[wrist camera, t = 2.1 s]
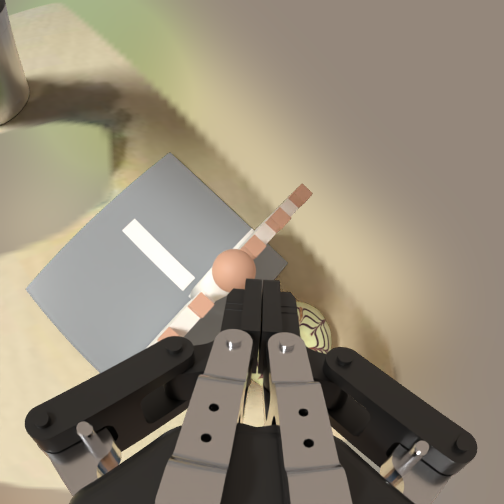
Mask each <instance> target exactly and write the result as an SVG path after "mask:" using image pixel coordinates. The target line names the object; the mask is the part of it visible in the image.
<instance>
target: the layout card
mask: <svg viewBox="0 0 504 504" xmlns="http://www.w3.org/2000/svg"><path fill="white" fill-rule="evenodd" d="M253 232H254V230H253V229H252V228H251V227H250V226H249V225H248V224H247V223H245V222H244V221H243V220H242V219H241V218H240V217H239V216H238V215H237V214H236V213H235V212H234V211H233V210H232V209H231V208H230V207H228V206H227V205H226V204H225V203H224V202H223V201H222V200H221V199H220V198H219V197H218V196H217V195H216V194H215V193H213V192H212V191H211V190H210V189H209V188H208V187H207V186H206V185H205V184H204V183H203V182H202V181H201V180H200V179H198V178H197V177H196V176H195V175H194V174H193V173H192V172H191V171H190V170H189V169H188V168H187V167H185V166H184V165H183V164H182V163H181V162H180V161H179V160H178V159H177V158H176V157H175V156H174V155H172V154H171V153H170V152H169V153H168V154H167V155H165V156H164V157H163V158H162V159H160V160H159V161H158V162H157V163H155V164H154V165H153V166H152V167H150V168H149V169H148V170H147V171H146V172H144V173H143V174H142V175H141V176H140V177H138V178H137V179H136V180H135V181H134V182H132V183H131V184H130V185H129V186H128V187H127V188H126V189H124V190H123V191H122V192H121V193H120V194H119V195H118V196H116V197H115V198H114V199H113V200H112V201H111V202H110V203H109V204H108V205H106V206H105V207H104V208H103V209H102V210H101V211H100V212H99V213H98V214H97V215H96V216H95V217H94V218H92V219H91V220H90V221H89V222H88V223H87V224H86V225H85V226H84V227H83V228H82V229H81V230H80V231H79V232H78V233H77V234H76V235H75V236H74V237H73V238H72V239H71V240H70V241H69V242H68V243H67V244H66V245H65V246H64V247H63V248H62V249H61V250H60V251H59V252H58V253H57V254H56V256H55V257H54V258H53V259H52V260H51V261H50V262H49V263H48V264H47V265H46V266H45V267H44V268H43V270H42V271H41V272H40V273H39V274H38V275H37V276H36V277H35V279H34V280H33V281H32V282H31V283H30V284H29V285H28V287H27V288H26V290H27V292H28V293H29V294H30V296H31V297H32V298H33V300H34V301H35V302H36V303H37V305H38V306H39V307H40V308H41V310H42V311H43V312H44V313H45V314H46V316H47V317H48V318H49V319H50V320H51V321H52V323H53V324H54V325H55V326H56V327H57V328H58V330H59V331H60V332H61V333H62V334H63V335H64V336H65V337H66V339H67V340H68V341H69V342H70V343H71V344H72V345H73V346H74V347H75V348H76V349H77V350H78V351H79V352H80V353H81V354H82V356H83V357H84V358H85V359H86V360H87V361H88V362H89V363H90V364H91V365H92V366H93V367H94V368H95V369H96V370H97V371H99V372H100V373H102V372H104V371H106V370H107V369H109V368H111V367H113V366H115V365H117V364H119V363H120V362H122V361H124V360H126V359H128V358H130V357H131V356H133V355H135V354H137V353H139V352H141V351H142V350H144V349H146V348H147V346H148V345H149V344H150V343H151V342H152V341H153V340H154V339H155V338H156V337H157V335H158V334H159V333H160V332H161V331H162V330H163V329H164V328H165V327H166V326H167V324H168V323H169V322H170V321H171V320H172V319H173V318H174V317H175V316H176V315H177V314H178V312H179V311H180V310H181V309H182V308H183V307H184V306H185V305H186V304H187V303H188V302H189V301H190V300H191V297H190V293H191V291H192V289H193V288H194V287H195V286H196V285H197V283H198V282H199V281H200V280H201V279H202V278H203V277H204V276H205V274H206V273H207V272H208V271H209V270H210V269H211V268H212V266H213V263H214V261H215V259H216V258H217V256H218V255H219V254H221V253H222V252H224V251H226V250H229V249H238V248H239V247H240V245H241V244H242V243H243V242H244V241H245V240H246V239H247V238H248V237H249V236H250V235H251V234H252V233H253ZM253 261H254V263H255V266H256V276H255V279H262V287H263V279H264V280H274V279H275V278H276V277H277V276H278V275H279V273H280V272H281V271H282V270H283V268H284V267H285V266H286V265H287V264H288V262H286V261H285V260H284V259H283V258H282V257H281V256H280V255H279V254H278V253H277V252H276V251H275V250H274V249H273V248H272V247H271V246H270V245H269V244H268V243H267V244H266V247H265V249H264V250H263V251H262V252H261V253H260V254H259V255H258V256H257V258H255V259H254V260H253ZM226 299H227V296H225V297H223V298H221V299H219V300H217V301H215V303H214V304H215V305H214V306H213V307H212V308H211V309H210V310H209V311H208V313H207V314H206V315H205V316H204V317H203V318H200V319H199V320H198V322H197V323H196V324H195V325H194V326H193V327H192V328H191V329H190V330H189V332H188V333H187V334H186V335H185V336H184V338H187V339H188V340H190V341H191V342H192V344H193V346H194V345H202V344H207V343H209V342H212V341H213V340H215V337H216V336H217V334H219V333H220V331H221V326H222V320H223V315H224V310H225V304H226Z"/></svg>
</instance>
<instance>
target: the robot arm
mask: <svg viewBox="0 0 504 504" xmlns="http://www.w3.org/2000/svg"><path fill="white" fill-rule="evenodd" d="M29 94H30V89H29V86H28V83H27V80H26V77H25V74H24V70H23V67H22V64H21V61H20V58H19V54H18V51H17V47H16V44H15V40H14V37H13V33H12V29H11V25H10V21H9V17H8V13H7V8H6V3H5V0H0V125H1V124H4V123H5V122H7V121H9V120H10V119H12V118H13V117H14V116H16V115H17V114H18V113H19V112H20V111H21V109H22V108H23V107H24V105H25V104H26V102H27V100H28V98H29ZM261 297H262V298H261ZM258 350H259V354H258ZM257 360H258V374H263V385H262V398H263V412H264V426H263V427H253V426H250V425H246V424H243V420H244V414H245V408H246V402H247V396H248V390H249V385H250V383H251V376H252V373H253V374H256V370H257ZM350 396H351V397H350ZM355 400H356V401H355ZM360 404H361V405H360ZM187 408H188V409H187ZM365 408H366V409H365ZM186 409H187V412H186V416H185V419H184V422H183V425H182V426H179V427H176V428H174V429H171V430H169V431H167V432H166V433H164V434H162V435H161V436H160V437H158V438H157V439H156V440H154V441H153V442H151V443H150V444H149V445H147V446H146V447H144V448H143V449H141V450H140V451H139V452H137V453H136V454H134V455H133V456H131V457H130V458H128V459H127V460H125V461H124V462H122V463H121V464H119V463H120V461H121V452H122V451H124V450H125V449H127V448H129V447H130V446H132V445H133V444H135V443H136V442H138V441H140V440H141V439H143V438H144V437H146V436H147V435H149V434H150V433H152V432H153V431H155V430H156V429H158V428H160V427H161V426H162V425H164V424H165V423H167V422H168V421H170V420H171V419H173V418H174V417H176V416H177V415H179V414H180V413H182V412H183V411H184V410H186ZM331 427H333V428H334V429H335V430H336V431H337V432H338V433H339V434H341V435H342V436H343V437H344V438H345V439H346V440H347V441H349V442H350V443H351V444H352V445H353V446H354V447H356V448H357V449H358V450H359V451H361V452H362V453H363V454H364V455H365V456H367V457H368V458H369V459H370V460H371V461H373V462H374V463H375V464H376V465H377V466H379V467H380V474H379V473H378V472H377V471H376V470H375V469H373V468H372V467H371V466H370V465H369V464H368V463H367V462H366V461H364V460H363V459H362V458H361V457H360V456H359V455H358V454H357V453H356V452H355V451H353V450H352V449H351V448H350V447H349V446H348V445H347V444H346V443H345V442H343V441H342V440H340V439H339V438H337V437H335V436H333V433H332V429H331ZM25 428H26V431H27V432H28V434H29V435H30V436H31V437H32V438H33V440H34V441H35V442H36V443H37V445H38V447H39V448H40V449H41V450H42V451H43V452H44V453H45V454H46V456H47V457H48V458H49V459H50V460H51V462H52V464H53V465H54V467H55V469H56V470H57V472H58V474H59V475H60V477H61V479H62V480H63V482H64V483H65V485H66V486H67V488H68V490H69V491H70V493H71V494H72V496H73V498H72V499H71V501H70V503H69V504H432V502H433V501H434V500H435V498H436V497H437V496H438V494H439V493H440V492H441V490H442V489H443V487H444V486H445V485H446V483H447V482H448V480H449V479H450V478H451V477H453V476H454V475H455V474H456V473H458V472H459V471H460V470H461V469H462V468H463V467H465V465H467V464H468V463H469V462H470V461H471V460H472V459H473V458H474V457H475V455H476V453H477V444H476V441H475V439H474V437H473V436H472V435H471V434H470V433H469V432H467V431H466V430H464V429H463V428H461V427H460V426H459V425H457V424H456V423H454V422H453V421H451V420H450V419H449V418H447V417H446V416H444V415H443V414H441V413H440V412H439V411H437V410H436V409H434V408H433V407H431V406H430V405H429V404H427V403H426V402H424V401H423V400H422V399H420V398H419V397H417V396H416V395H415V394H413V393H412V392H410V391H409V390H408V389H406V388H405V387H404V386H402V385H401V384H399V383H398V382H397V381H395V380H394V379H393V378H391V377H390V376H388V375H387V374H386V373H384V372H383V371H381V370H380V369H379V368H377V367H376V366H375V365H373V364H372V363H370V362H369V361H368V360H366V359H365V358H364V357H362V356H361V355H360V354H358V353H357V352H355V351H354V350H352V349H349V348H345V347H337V348H333V349H331V350H330V351H329V352H328V353H327V354H324V353H320V352H317V351H314V350H312V349H310V348H308V347H307V346H306V345H305V342H304V341H303V339H302V338H301V336H300V327H299V319H298V311H297V304H296V299H295V297H294V296H293V295H292V294H291V292H280V281H279V280H264V279H263V287H262V279H249V278H246V282H245V289H235V288H233V289H232V290H231V291H230V292H229V293H228V295H227V299H226V304H225V310H224V315H223V320H222V326H221V331H220V333H219V334H217V336H216V337H215V340H213V341H212V342H209V343H207V344H202V345H194V346H193V344H192V342H191V341H190V340H188V339H187V338H184V337H181V336H170V337H166V338H164V339H162V340H160V341H159V342H157V343H155V344H153V345H151V346H150V347H148V348H146V349H144V350H142V351H141V352H139V353H137V354H135V355H133V356H131V357H130V358H128V359H126V360H124V361H122V362H120V363H119V364H117V365H115V366H113V367H111V368H109V369H107V370H106V371H104V372H102V373H100V374H98V375H96V376H94V377H92V378H90V379H89V380H87V381H85V382H83V383H81V384H79V385H77V386H75V387H73V388H71V389H70V390H68V391H66V392H64V393H62V394H60V395H58V396H56V397H54V398H52V399H50V400H48V401H46V402H44V403H42V404H40V405H38V406H36V407H35V408H33V409H32V410H30V412H29V413H28V414H27V416H26V419H25Z"/></svg>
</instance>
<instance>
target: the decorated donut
mask: <svg viewBox="0 0 504 504" xmlns="http://www.w3.org/2000/svg"><path fill="white" fill-rule="evenodd" d="M296 304H297V311H298V319H299V327H300V336H301V338H302V339H303V341H304V342H305V345H306V346H307V347H308V348H310V349H312V350H314V351H317V352H320V353H324V354H327V353H328V352H329V351H330V350H331V346H332V339H331V331H330V328H329V325H328V324H327V322H326V320H325V318H324V316H323V315H322V314H321V313H320V312H319V310H318V309H316V308H315V307H313V306H311V305H309V304H307V303H303V302H299V301H296ZM258 354H259V350H258ZM251 379H252V380H254V381H255V382H257V383H258V384H259V385H260V386H262V385H263V374H258V360H257V370H256V374H253V373H252V376H251Z"/></svg>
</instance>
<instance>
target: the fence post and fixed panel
mask: <svg viewBox="0 0 504 504" xmlns="http://www.w3.org/2000/svg"><path fill="white" fill-rule="evenodd" d="M311 195H312V192H311V191H310V190H309V189H308V188H306V187H305V186H304V185H303V184H301V185H300V186H299V187H298V188H297V189H296V190H295V191H294V192H293V193H292V194H291V195H290V196H289V197H288V198H287V199H286V200H285V201H284V202H283V203H282V204H281V205H280V206H279V207H278V208H277V209H276V210H275V211H274V212H273V213H272V214H271V215H270V216H269V217H267V218H266V219H265V220H264V221H263V222H262V223H261V224H260V225H259V226H258V227H257V228H256V229H255V231H254V232H253V233H252V234H251V235H250V236H249V237H248V238H247V239H246V240H245V241H244V242H243V243H242V244H241V245H240V247H239V248H238V249H229V250H226V251H224V252H222V253H221V254H219V255H218V256H217V258H216V259H215V261H214V263H213V266H212V268H211V269H210V270H209V271H208V272H207V273H206V274H205V276H204V277H203V278H202V279H201V280H200V281H199V282H198V283H197V285H196V286H195V287H194V288H193V289H192V291H191V293H190V297H191V299H193V298H194V297H195V296H196V295H197V294H198V293H200V292H201V291H202V290H203V291H204V292H206V293H207V294H208V295H209V296H210V297H211V298H212V299H213V300H214V301H217V300H219V299H221V298H223V297H225V296H227V295H228V293H229V292H230V291H231V290H232V289H233V288H235V289H245V282H246V278H249V279H255V276H256V266H255V263H254V261H253V260H254V259H255V258H257V256H258V255H259V254H260V253H261V252H262V251H263V250H264V249H265V247H266V244H267V243H268V242H269V241H270V240H271V239H272V238H273V236H274V235H275V234H276V233H277V232H278V231H280V230H281V229H282V228H283V227H284V226H285V225H286V224H287V223H288V221H289V220H290V219H291V216H292V215H293V214H294V213H295V212H296V210H297V209H298V208H299V207H300V206H302V205H303V204H304V203H305V202H306V201H307V200H308V199H309V198H310V196H311Z"/></svg>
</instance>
